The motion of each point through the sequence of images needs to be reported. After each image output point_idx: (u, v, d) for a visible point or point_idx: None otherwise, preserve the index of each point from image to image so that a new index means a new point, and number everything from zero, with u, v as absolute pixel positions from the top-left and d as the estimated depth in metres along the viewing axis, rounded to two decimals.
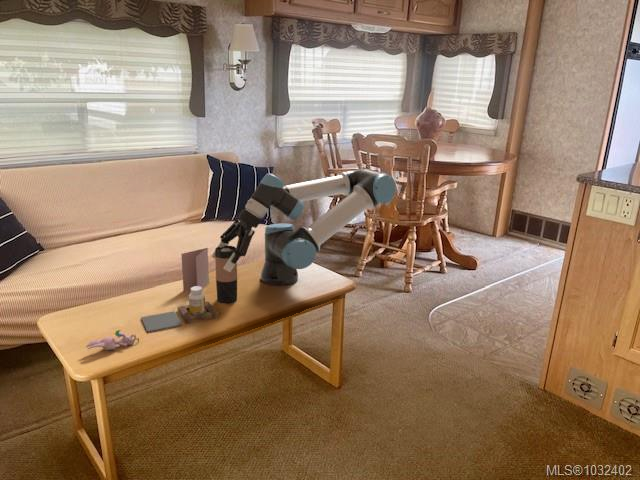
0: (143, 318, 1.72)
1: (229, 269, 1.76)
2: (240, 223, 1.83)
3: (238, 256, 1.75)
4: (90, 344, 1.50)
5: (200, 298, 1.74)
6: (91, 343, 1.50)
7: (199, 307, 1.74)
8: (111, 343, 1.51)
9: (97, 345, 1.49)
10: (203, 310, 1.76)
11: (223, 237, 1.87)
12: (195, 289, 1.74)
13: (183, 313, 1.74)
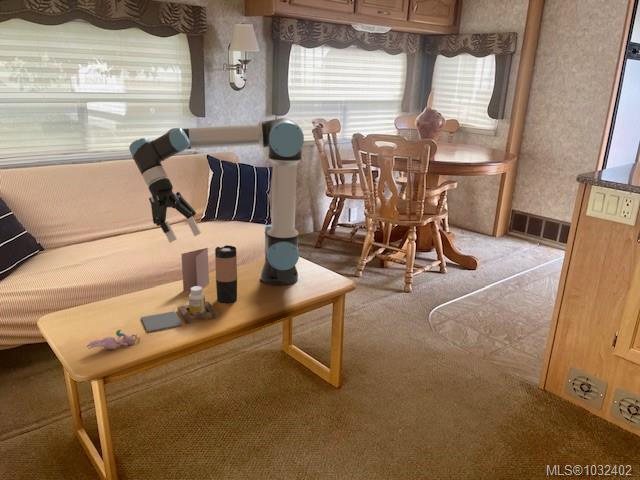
0: (143, 318, 1.72)
1: (172, 238, 1.68)
2: None
3: (161, 224, 1.67)
4: (91, 344, 1.50)
5: (200, 298, 1.74)
6: (92, 343, 1.50)
7: (199, 307, 1.74)
8: (112, 343, 1.52)
9: (98, 345, 1.49)
10: (203, 310, 1.76)
11: None
12: (195, 289, 1.74)
13: (183, 313, 1.74)
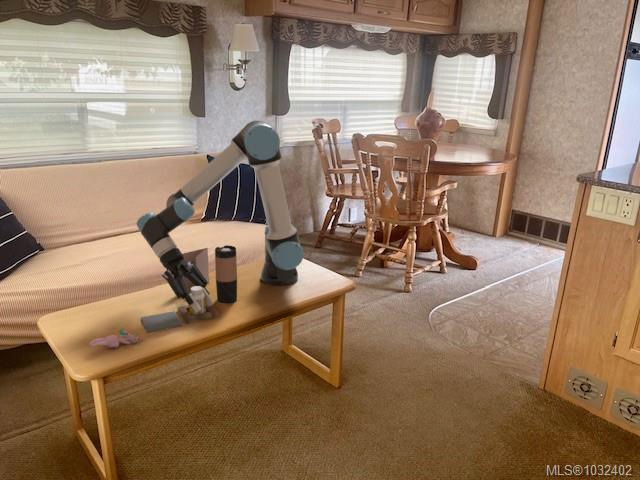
0: (143, 318, 1.72)
1: (197, 309, 1.72)
2: None
3: (185, 297, 1.72)
4: (93, 342, 1.51)
5: (200, 298, 1.74)
6: (95, 341, 1.51)
7: None
8: (114, 342, 1.53)
9: (100, 343, 1.50)
10: (203, 310, 1.76)
11: None
12: (195, 289, 1.74)
13: (183, 313, 1.74)
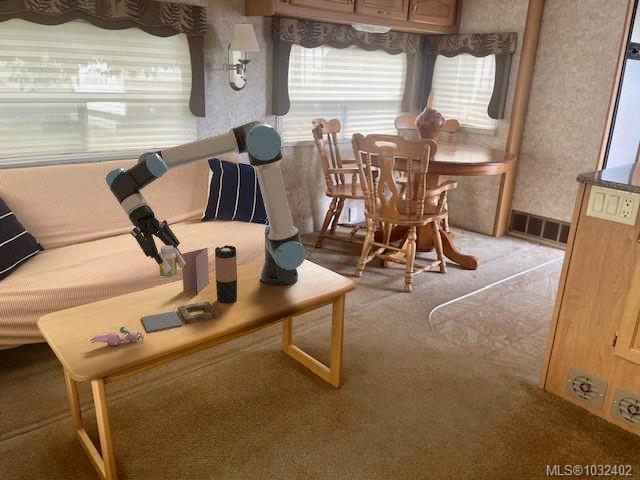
0: (143, 318, 1.72)
1: (167, 268, 1.62)
2: None
3: (154, 256, 1.63)
4: (94, 338, 1.53)
5: (170, 258, 1.64)
6: (95, 338, 1.53)
7: None
8: (114, 339, 1.54)
9: (100, 340, 1.52)
10: (174, 271, 1.67)
11: None
12: (165, 248, 1.65)
13: (183, 313, 1.74)
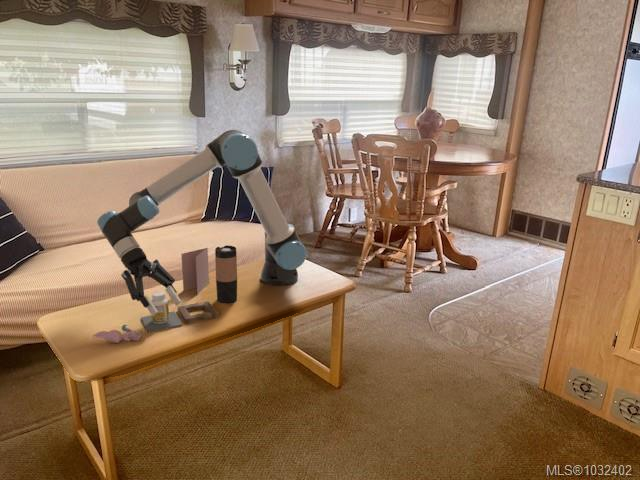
0: (143, 318, 1.72)
1: (153, 311, 1.63)
2: None
3: (141, 299, 1.63)
4: (97, 334, 1.56)
5: (162, 304, 1.67)
6: (98, 334, 1.56)
7: (162, 314, 1.67)
8: (115, 337, 1.55)
9: (101, 336, 1.54)
10: (166, 316, 1.69)
11: None
12: (157, 294, 1.67)
13: (183, 313, 1.74)
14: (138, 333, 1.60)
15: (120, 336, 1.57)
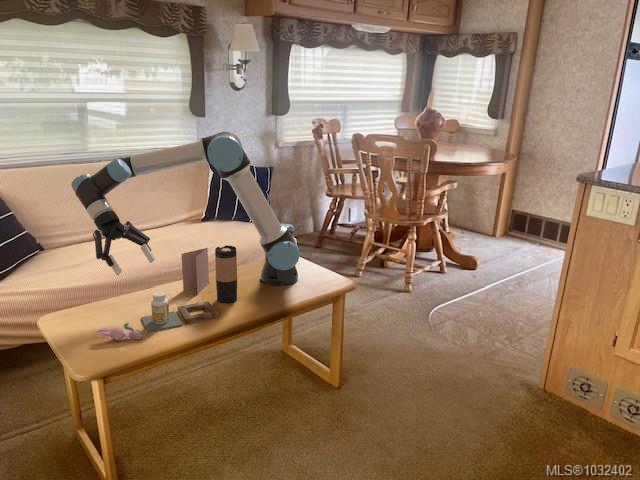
0: (143, 318, 1.72)
1: (117, 270, 1.66)
2: None
3: (105, 258, 1.66)
4: (100, 330, 1.58)
5: (162, 305, 1.67)
6: (101, 330, 1.58)
7: (162, 314, 1.67)
8: (116, 334, 1.57)
9: (103, 333, 1.56)
10: (166, 317, 1.69)
11: (140, 243, 1.79)
12: (157, 294, 1.67)
13: (183, 313, 1.74)
14: (140, 332, 1.61)
15: (122, 334, 1.58)
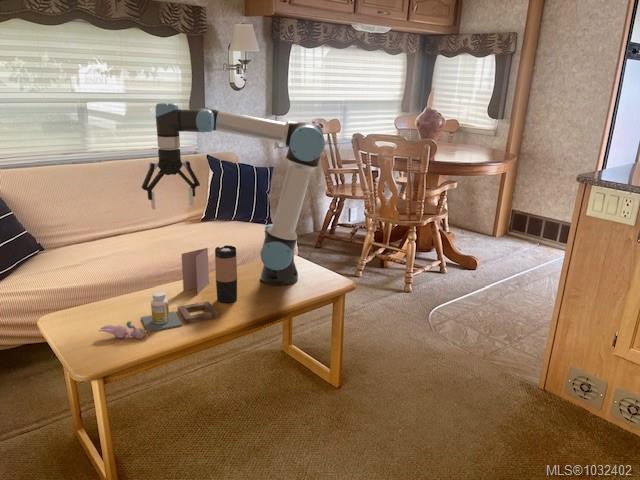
0: (143, 318, 1.72)
1: (152, 207, 1.83)
2: None
3: (147, 191, 1.81)
4: (104, 327, 1.60)
5: (162, 305, 1.67)
6: (105, 327, 1.60)
7: (162, 314, 1.67)
8: (118, 332, 1.58)
9: (105, 330, 1.58)
10: (166, 316, 1.69)
11: None
12: (157, 294, 1.67)
13: (183, 313, 1.74)
14: (143, 331, 1.61)
15: (124, 332, 1.59)
